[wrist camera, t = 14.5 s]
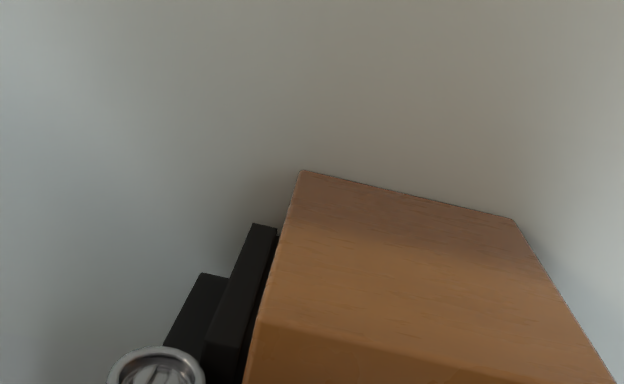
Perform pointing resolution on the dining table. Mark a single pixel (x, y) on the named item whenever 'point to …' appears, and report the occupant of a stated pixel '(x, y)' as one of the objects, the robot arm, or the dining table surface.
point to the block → (409, 297)
